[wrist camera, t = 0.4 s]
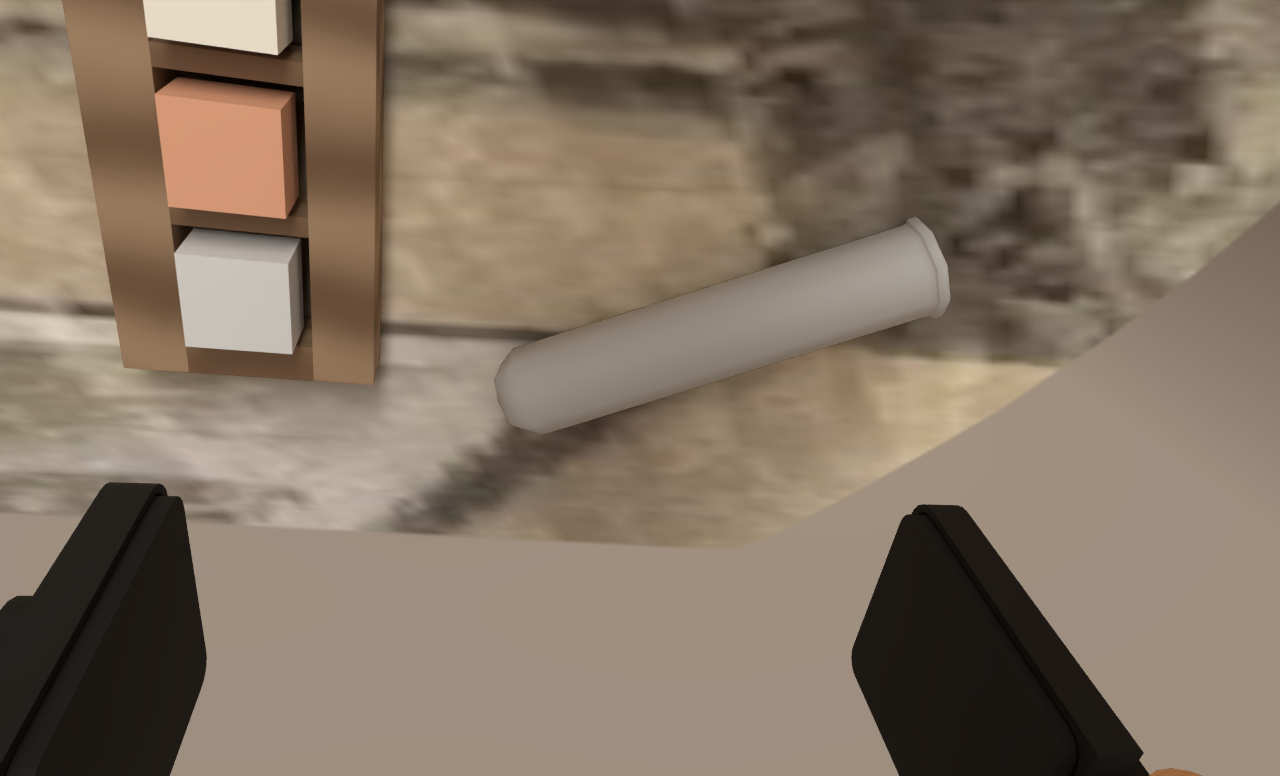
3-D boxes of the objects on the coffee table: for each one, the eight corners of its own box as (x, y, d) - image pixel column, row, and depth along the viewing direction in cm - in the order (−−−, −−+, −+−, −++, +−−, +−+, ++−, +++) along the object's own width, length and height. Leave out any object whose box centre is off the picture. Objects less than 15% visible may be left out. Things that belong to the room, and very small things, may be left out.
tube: (519, 463, 48) (947, 332, 47) (485, 411, 44) (954, 265, 43) (509, 391, 52) (909, 266, 50) (476, 336, 47) (911, 199, 46)
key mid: (177, 76, 37) (154, 94, 35) (294, 92, 38) (280, 110, 36) (189, 183, 39) (168, 206, 37) (299, 195, 40) (285, 218, 38)
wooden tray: (63, -205, 33) (27, -208, 30) (386, -143, 35) (377, -142, 33) (144, 338, 45) (124, 367, 43) (380, 355, 48) (373, 384, 45)
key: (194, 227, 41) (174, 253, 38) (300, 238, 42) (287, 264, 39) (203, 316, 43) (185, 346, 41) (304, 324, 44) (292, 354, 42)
